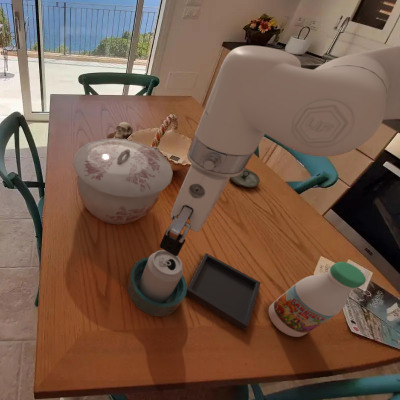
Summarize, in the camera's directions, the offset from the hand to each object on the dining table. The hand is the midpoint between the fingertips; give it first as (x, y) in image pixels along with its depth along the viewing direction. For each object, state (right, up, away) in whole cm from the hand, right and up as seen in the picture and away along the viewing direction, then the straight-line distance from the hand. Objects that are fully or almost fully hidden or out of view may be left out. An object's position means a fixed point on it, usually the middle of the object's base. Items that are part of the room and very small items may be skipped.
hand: (179, 233), depth 48 cm
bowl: (0, -16, +16) cm, 23 cm away
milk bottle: (+29, -21, +13) cm, 39 cm away
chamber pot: (-7, +4, +37) cm, 38 cm away
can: (0, -16, +16) cm, 23 cm away
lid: (+42, +13, +52) cm, 68 cm away
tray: (+17, -16, +18) cm, 29 cm away
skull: (0, +32, +68) cm, 76 cm away
